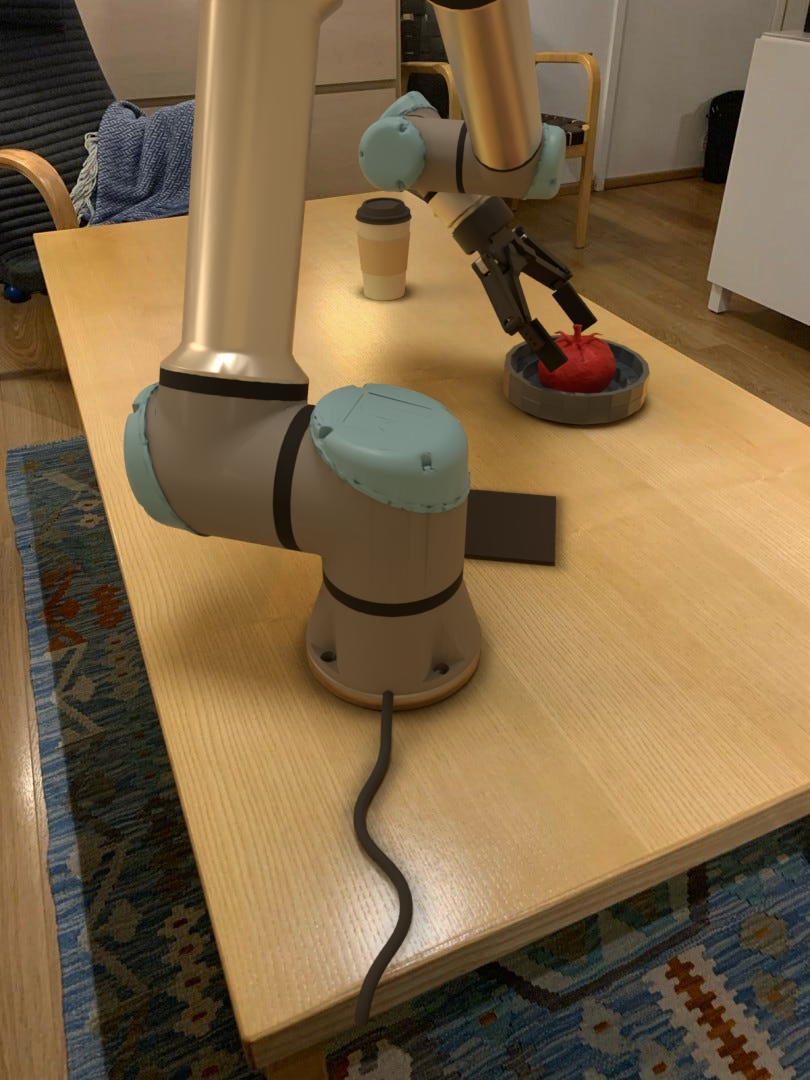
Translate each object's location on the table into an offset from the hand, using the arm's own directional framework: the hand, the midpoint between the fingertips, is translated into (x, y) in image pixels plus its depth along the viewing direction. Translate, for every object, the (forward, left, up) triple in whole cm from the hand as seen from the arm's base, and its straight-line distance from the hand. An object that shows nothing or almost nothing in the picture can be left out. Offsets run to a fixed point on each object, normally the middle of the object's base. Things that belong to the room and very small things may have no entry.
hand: (575, 346), depth 113 cm
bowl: (0, 0, -7) cm, 7 cm away
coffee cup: (+33, +31, -7) cm, 45 cm away
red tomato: (0, 0, -6) cm, 6 cm away
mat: (-32, +8, -7) cm, 34 cm away
